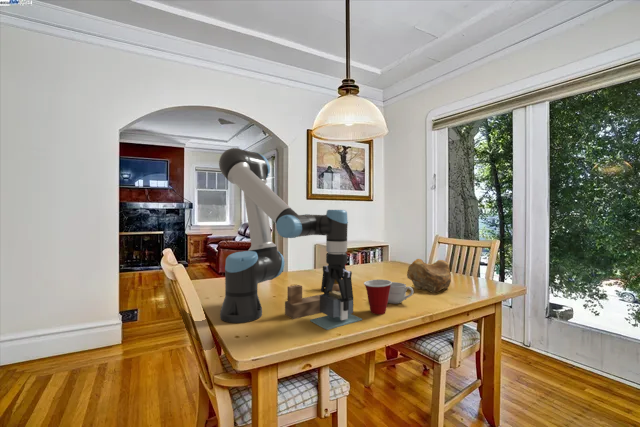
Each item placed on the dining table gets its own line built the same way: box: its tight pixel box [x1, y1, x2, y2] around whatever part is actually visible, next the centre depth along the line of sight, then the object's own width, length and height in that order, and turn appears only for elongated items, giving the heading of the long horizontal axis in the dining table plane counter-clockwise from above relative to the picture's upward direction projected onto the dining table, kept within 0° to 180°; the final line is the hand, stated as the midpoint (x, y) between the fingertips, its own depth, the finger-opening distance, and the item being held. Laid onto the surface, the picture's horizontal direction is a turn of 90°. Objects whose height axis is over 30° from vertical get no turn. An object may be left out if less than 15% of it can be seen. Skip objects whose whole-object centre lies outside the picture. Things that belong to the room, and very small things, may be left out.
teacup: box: [387, 281, 414, 304], centre depth 133 cm, size 14×11×8 cm
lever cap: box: [319, 291, 354, 318], centre depth 111 cm, size 9×8×7 cm
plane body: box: [284, 284, 340, 320], centre depth 122 cm, size 26×6×11 cm, turn 126°
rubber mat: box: [309, 313, 363, 331], centre depth 111 cm, size 16×10×1 cm, turn 126°
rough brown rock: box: [406, 258, 452, 294], centre depth 155 cm, size 23×17×15 cm
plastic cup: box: [363, 279, 393, 315], centre depth 120 cm, size 11×11×12 cm
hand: (336, 315), depth 111 cm, fingers closed on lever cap, 8 cm apart
